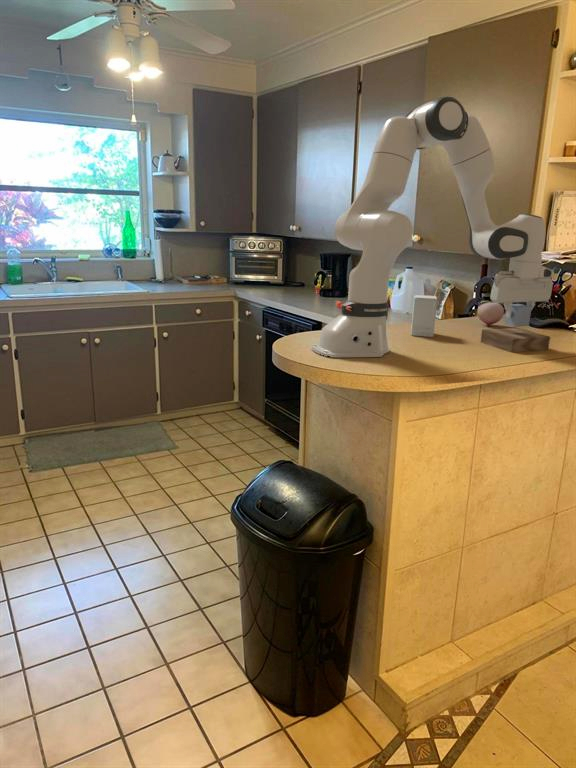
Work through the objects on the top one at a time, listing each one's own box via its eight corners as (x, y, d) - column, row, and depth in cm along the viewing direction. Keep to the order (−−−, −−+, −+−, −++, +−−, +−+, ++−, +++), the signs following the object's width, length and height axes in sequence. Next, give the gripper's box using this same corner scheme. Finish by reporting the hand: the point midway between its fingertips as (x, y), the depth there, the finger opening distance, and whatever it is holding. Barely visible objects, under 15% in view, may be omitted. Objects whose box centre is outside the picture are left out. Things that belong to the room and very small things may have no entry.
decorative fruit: (480, 327, 207) (483, 299, 204) (473, 323, 215) (476, 296, 212) (506, 328, 207) (510, 300, 204) (498, 324, 215) (501, 297, 212)
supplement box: (433, 337, 188) (437, 298, 184) (410, 335, 189) (414, 297, 186) (432, 333, 195) (436, 295, 191) (410, 331, 196) (414, 294, 193)
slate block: (515, 326, 174) (518, 307, 172) (504, 323, 179) (507, 304, 177) (528, 326, 176) (531, 306, 174) (517, 323, 180) (519, 303, 179)
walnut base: (511, 352, 170) (513, 338, 169) (480, 342, 183) (482, 329, 182) (548, 349, 175) (550, 336, 174) (515, 339, 188) (517, 327, 186)
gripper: (503, 272, 166) (497, 319, 170) (558, 271, 173) (551, 317, 177) (489, 270, 172) (483, 316, 176) (542, 269, 179) (536, 313, 183)
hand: (517, 316), depth 176 cm, fingers closed on slate block, 5 cm apart
